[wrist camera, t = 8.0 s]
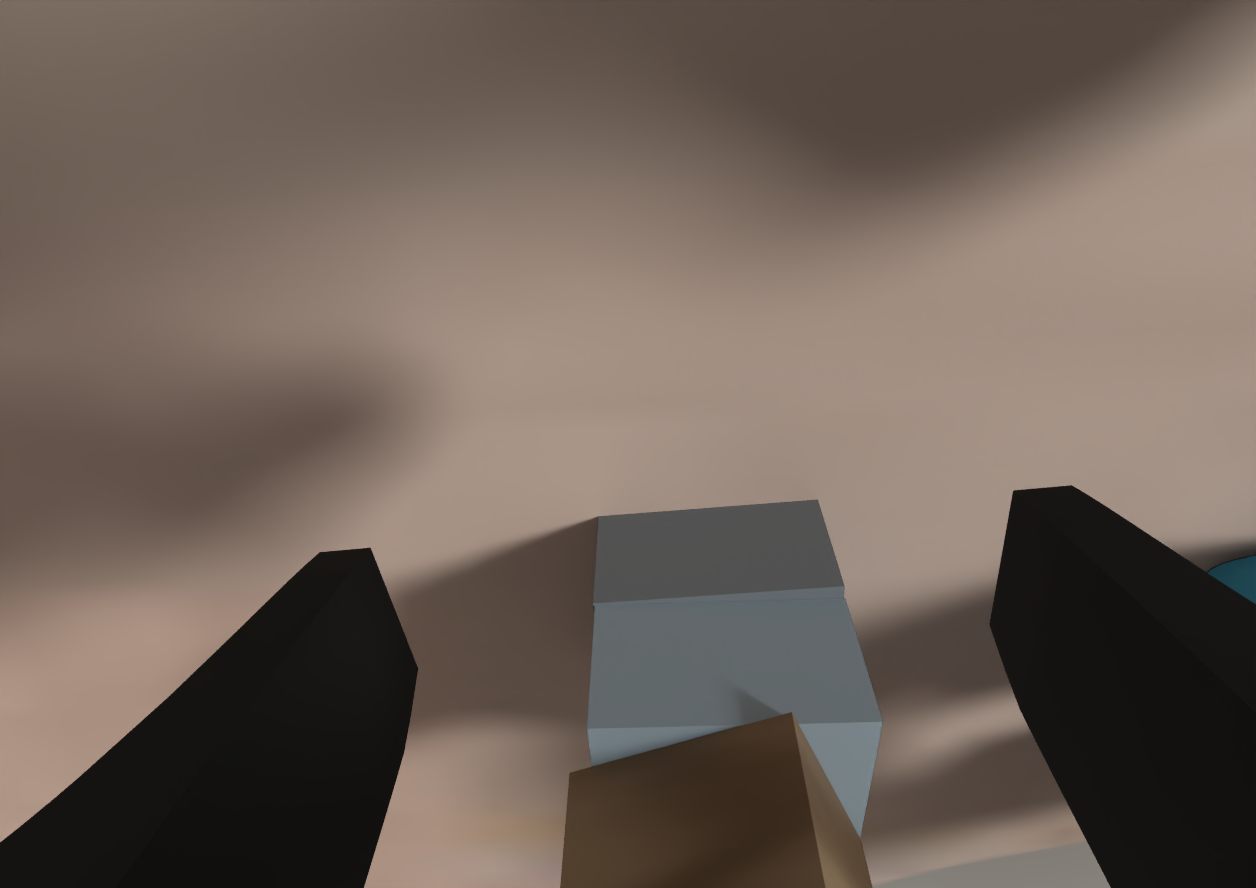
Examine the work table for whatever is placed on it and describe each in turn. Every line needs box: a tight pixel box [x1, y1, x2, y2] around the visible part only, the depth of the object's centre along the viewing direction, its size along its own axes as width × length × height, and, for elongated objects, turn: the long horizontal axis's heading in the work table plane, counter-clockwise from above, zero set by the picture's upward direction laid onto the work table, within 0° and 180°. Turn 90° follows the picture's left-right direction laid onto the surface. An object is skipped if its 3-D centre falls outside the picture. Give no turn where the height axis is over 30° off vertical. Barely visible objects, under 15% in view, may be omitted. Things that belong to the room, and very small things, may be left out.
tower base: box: [593, 500, 844, 612], centre depth 22 cm, size 6×6×4 cm
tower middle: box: [587, 598, 883, 837], centre depth 19 cm, size 6×6×4 cm
